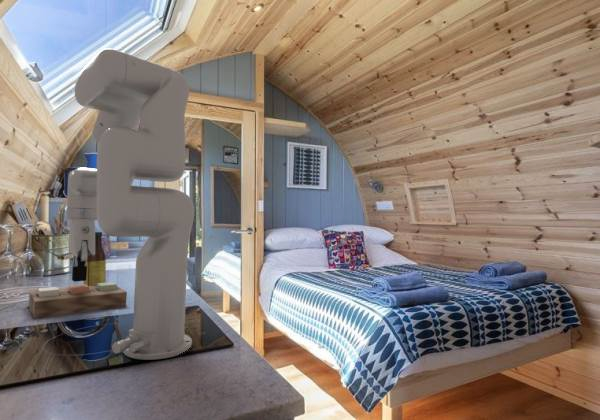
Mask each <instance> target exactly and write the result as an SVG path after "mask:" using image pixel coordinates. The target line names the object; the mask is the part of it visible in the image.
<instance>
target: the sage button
mask: <svg viewBox="0 0 600 420" xmlns="http://www.w3.org/2000/svg"><path fill="white" fill-rule="evenodd" d="M117 286H118V284H117V283H115V282H113V281H111V282H108V281H107V282H106V283H97V290H98V291H109V290H117Z"/></svg>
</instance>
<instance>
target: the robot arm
mask: <svg viewBox="0 0 600 420" xmlns="http://www.w3.org/2000/svg"><path fill="white" fill-rule="evenodd" d="M74 97H75V100H76V102H77V104H79V105H80V106H81V107H84V108H89V109H91V110H92V109H93V110H96V111H98V113H97V117H96V119H95V122H94V125H93V128H92V131H91V135H92V137H93V140H94V141H95V142H96V143H97V144H98V147H97V155H96V168H91V167H77V168H75V169H74V170H71V171H69V172H68V177H67V193H66V194H67V195H66V213H65V214H66V215H65V219H66V221H70V225H69V240H68V241H69V242H68V245H69V246H68V250H69V254H71V255H72V256H73V257H72V269H71V270H72V272H71V280H72V281H73V282H84V281H85V280H86V276H87V257H88V254H89V255H91V256H94V255H95V232H96V225H95V221H97V224H98V226H99V229H100V230H101V231H100V232H102V234H105V235H106V236H109V237H114V238H135V237H137V238H139V237H141V238H142V237H144V238H145V237H146V238H147V239H146V241H145V242H144V244H143V245H142V247H141V248H140V250H139V252H138V254H137V256H136V260H135V274H134V275H135V279H134V296H133V298H134V300H133V321H132V328H131V329H129V330H128V335H127V336H126V337H125V339H121V340H118V341H115V342H113V344H112V346H111V349H112V352H113V353H114V354H116V355H117V354H119V353H122V352H123V353H122V354H124V355H125V356H127V357H128V358H131V359H135V360H141V361H142V360H145V361H147V360H149V361H151V360H152V361H153V360H155V361H156V360H162V359H168V358H173V357H177V356H180V355H182V354H184V353H185V351H186V350H187V351H189V350H190V349H191V348H192V346H193V340H192V338H191V337H190V335H188V334H185V327H186V326H185V325H186V324H185V323H186V299H187V277H188V276H187V275H188V272H187V271H188V256H189V255H188V254H189V245H190V237H191V233H192V228H193V224H194V219H195V212H196V211H195V205H194V202H193V200H192V198H191V197H190V196H189V195H188V194H186V193H185V192H183V191H181V190H178V189H174V188H168V187H167V188H165V187H155V186H140V185H133V182H134V180H138V181H147V182H160V183H161V182H162V183H172V182H175V181H178V180H180V179H181V178H182V177H183V176H184V172H185V168H186V135H185V134H186V131H185V130H186V129H185V128H186V127H185V126H186V125H185V124H186V123H185V115H186V109H187V106H188V101H189V98H190V85H189V82H188V80H187V78H186V77H185V75H184V74H183V73H181V72H179V71H177V70H175V69H173V68H170V67H168V66H167V67H166V66H164V65H161V64H158V63H155V62H153V61H150V60H147V59H143V58H140V57H138V56H135V55H133V54H130V53H126V52H124V51H121V50H118V49H114V48H104V49H101V50H100V51H99V52H98V53H97V54H95V56H93V57H92V59H90V61H89V62H88V63H87V64H86V65H85V66H84V67H83V69H82V70H81V71H80V73H79V75H78V77H77V79H76V81H75V86H74ZM138 123H139V128H137V125H138ZM191 345H192V346H191ZM190 347H191V348H190ZM189 348H190V349H189ZM188 349H189V350H188ZM187 351H186V352H187ZM183 352H184V353H183ZM181 353H182V354H181ZM179 354H180V355H179Z"/></svg>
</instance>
